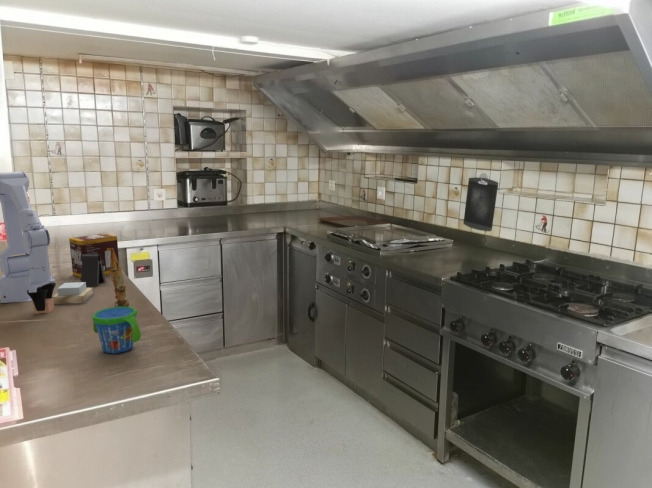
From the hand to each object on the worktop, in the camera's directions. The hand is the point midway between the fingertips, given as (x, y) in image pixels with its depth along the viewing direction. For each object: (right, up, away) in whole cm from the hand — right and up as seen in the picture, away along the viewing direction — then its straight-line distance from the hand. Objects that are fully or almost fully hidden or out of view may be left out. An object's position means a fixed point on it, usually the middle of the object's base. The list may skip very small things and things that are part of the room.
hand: (43, 308), depth 167 cm
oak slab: (+3, +2, +12) cm, 13 cm away
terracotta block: (0, -1, 0) cm, 2 cm away
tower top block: (+3, +4, +12) cm, 13 cm away
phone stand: (+2, +5, +32) cm, 33 cm away
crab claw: (+22, 0, +6) cm, 23 cm away
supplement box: (-5, +8, +50) cm, 51 cm away
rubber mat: (+3, +1, +13) cm, 13 cm away
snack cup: (+35, -7, -30) cm, 47 cm away
